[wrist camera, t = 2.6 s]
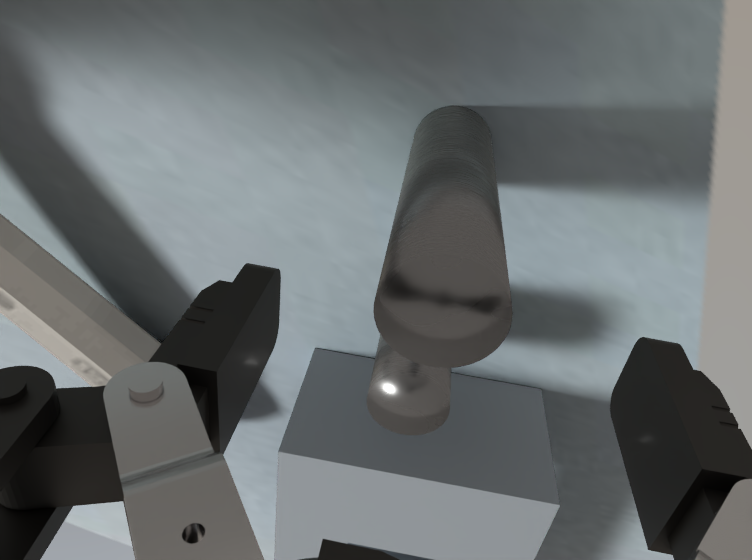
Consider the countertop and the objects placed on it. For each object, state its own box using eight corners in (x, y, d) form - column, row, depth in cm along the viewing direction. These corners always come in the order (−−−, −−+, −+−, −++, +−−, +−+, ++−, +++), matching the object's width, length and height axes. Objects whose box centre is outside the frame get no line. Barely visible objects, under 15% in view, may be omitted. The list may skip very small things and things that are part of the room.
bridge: (300, 527, 39) (271, 636, 33) (314, 348, 30) (278, 451, 24) (475, 562, 38) (477, 678, 32) (541, 389, 29) (560, 505, 24)
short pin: (384, 323, 29) (362, 426, 23) (392, 269, 27) (371, 367, 21) (446, 334, 28) (441, 441, 22) (459, 281, 27) (457, 382, 21)
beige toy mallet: (158, 469, 31) (-401, 95, 19) (195, 378, 37) (-225, 36, 24) (227, 442, 29) (-348, 2, 17) (255, 349, 35) (-168, -40, 22)
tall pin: (407, 175, 24) (366, 355, 14) (419, 100, 22) (382, 244, 12) (482, 187, 24) (494, 377, 14) (499, 112, 22) (528, 268, 12)
